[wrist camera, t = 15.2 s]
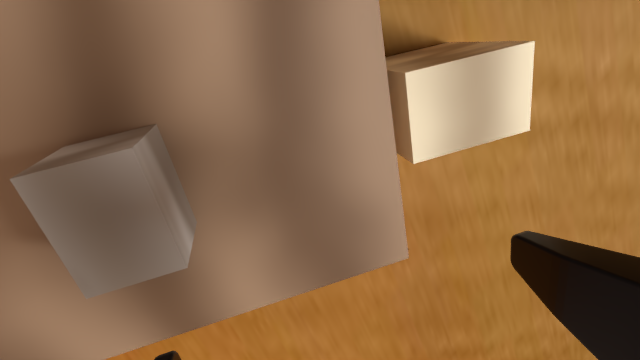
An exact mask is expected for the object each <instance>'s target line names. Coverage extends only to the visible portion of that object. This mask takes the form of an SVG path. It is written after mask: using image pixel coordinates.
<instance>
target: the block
mask: <svg viewBox="0 0 640 360" xmlns="http://www.w3.org/2000/svg"><path fill="white" fill-rule="evenodd" d="M534 44H535V41H500V42H448V43H443V44H439V45H435V46H431V47H427V48H422V49H418V50H414V51H410V52H406V53H401V54H397V55H393V56H389V57H385V59H386V68H387V76H388V85H389V93H390V102H391V110H392V119H393V128H394V136H395V145H396V153H398V154H399V155H401V156H402V157H404V158H405V159H407V160H409V161H410V162H412V163H413V164H415V163H418V162H422V161H425V160H429V159H432V158H436V157H439V156H443V155H446V154H449V153H453V152H456V151H460V150H463V149H467V148H470V147H474V146H477V145H481V144H484V143H488V142H491V141H495V140H498V139H502V138H505V137H508V136H512V135H515V134H519V133H522V132H526V131H529V130H530V115H531V97H532V80H533V62H534Z"/></svg>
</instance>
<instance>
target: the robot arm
mask: <svg viewBox="0 0 640 360" xmlns="http://www.w3.org/2000/svg"><path fill="white" fill-rule="evenodd" d="M511 263H512V265H513V267H514V269H515V270H516V271H517V272H518V273H519V275H520V276H521V277H522V278H523V279H524V281H525V282H526V283H527V284H528V285H529V287H530V288H531V289H532V290H533V291H534V292H535V294H536V295H537V296H538V297H539V298H540V300H541V301H542V302H543V303H544V304H545V306H546V307H547V308H548V309H549V310H550V311H551V312H552V314H553V315H554V316H555V317H556V318H557V319H558V320H559V321H560V322H561V323H562V324H563V325H564V326H565V327H566V328H567V329H568V330H569V331H570V332H571V333H572V334H573V335H574V336H575V337H576V338H577V339H578V340H579V341H580V342H581V343H582V344H583V345H584V346H585V347H586V348H587V349H588V350H589V351H590V352H591V353H592V354H593V355H594V356H595V357H596V358H597V359H598V360H640V257H635V256H631V255H627V254H623V253H619V252H614V251H610V250H606V249H602V248H598V247H594V246H589V245H585V244H581V243H577V242H573V241H569V240H564V239H560V238H556V237H552V236H548V235H543V234H539V233H535V232H531V231H524V232H521V233H518V234H515V235H513V237H512V238H511ZM154 360H181V358H180V356H179V354H178V353H177V352H176V351H170V352H168V353H165V354H162V355H159V356H157V357H156V358H155V359H154Z"/></svg>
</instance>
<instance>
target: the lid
mask: <svg viewBox="0 0 640 360" xmlns="http://www.w3.org/2000/svg"><path fill="white" fill-rule="evenodd" d="M407 258H409V256H408V247H407V239H406V230H405V222H404V213H403V205H402V196H401V187H400V179H399V170H398V162H397V153H396V145H395V136H394V128H393V119H392V110H391V102H390V93H389V85H388V76H387V68H386V59H385V51H384V42H383V33H382V25H381V16H380V8H379V0H0V360H104V359H107V358H110V357H113V356H116V355H119V354H122V353H125V352H128V351H131V350H134V349H137V348H140V347H143V346H146V345H149V344H152V343H155V342H158V341H161V340H164V339H167V338H170V337H173V336H176V335H179V334H182V333H185V332H188V331H191V330H194V329H197V328H200V327H203V326H206V325H209V324H212V323H215V322H218V321H221V320H224V319H227V318H230V317H233V316H236V315H239V314H242V313H245V312H248V311H251V310H254V309H257V308H260V307H263V306H266V305H269V304H272V303H275V302H278V301H281V300H284V299H287V298H290V297H293V296H296V295H299V294H302V293H305V292H308V291H311V290H314V289H317V288H320V287H323V286H326V285H329V284H332V283H335V282H338V281H341V280H344V279H347V278H350V277H353V276H356V275H359V274H362V273H365V272H368V271H371V270H374V269H377V268H380V267H383V266H386V265H389V264H392V263H395V262H398V261H401V260H404V259H407Z"/></svg>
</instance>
